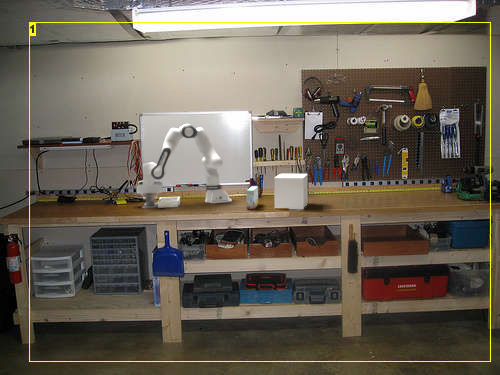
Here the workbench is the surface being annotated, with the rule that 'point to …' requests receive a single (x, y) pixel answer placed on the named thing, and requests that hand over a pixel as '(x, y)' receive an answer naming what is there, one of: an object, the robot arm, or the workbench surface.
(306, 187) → the cube
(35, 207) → the workbench surface
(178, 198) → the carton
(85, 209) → the workbench surface
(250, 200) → the snack box
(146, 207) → the rubber mat
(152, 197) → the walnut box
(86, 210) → the workbench surface
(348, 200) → the workbench surface
